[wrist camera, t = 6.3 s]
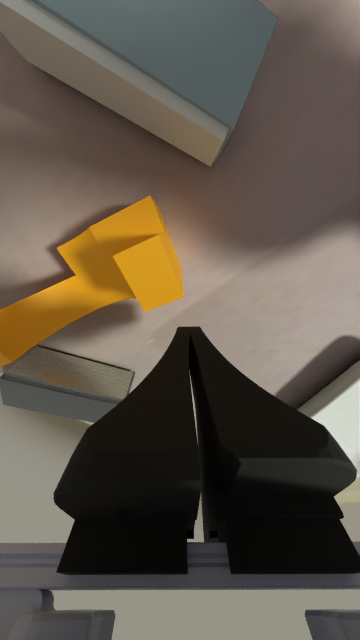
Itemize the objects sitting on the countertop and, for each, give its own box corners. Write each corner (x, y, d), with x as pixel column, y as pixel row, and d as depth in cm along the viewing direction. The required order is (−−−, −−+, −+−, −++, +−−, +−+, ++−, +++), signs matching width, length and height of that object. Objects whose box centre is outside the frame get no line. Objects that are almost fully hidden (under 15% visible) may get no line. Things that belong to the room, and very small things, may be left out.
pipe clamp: (157, 204, 11) (133, 175, 5) (181, 267, 13) (183, 297, 7) (21, 273, 13) (-104, 307, 7) (60, 317, 15) (-13, 371, 9)
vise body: (136, 370, 18) (125, 404, 14) (127, 391, 19) (116, 427, 16) (37, 343, 16) (-3, 375, 12) (38, 370, 18) (3, 404, 14)
